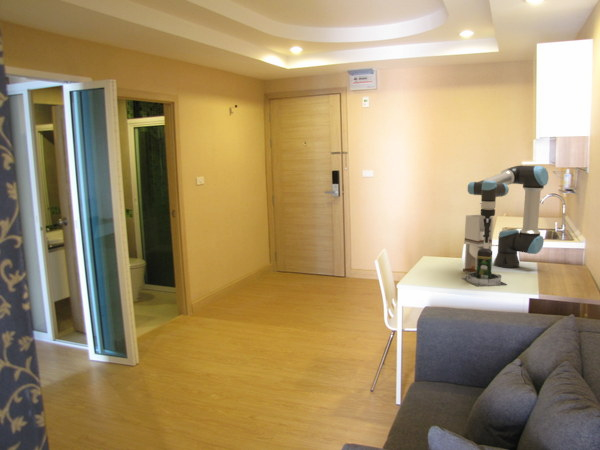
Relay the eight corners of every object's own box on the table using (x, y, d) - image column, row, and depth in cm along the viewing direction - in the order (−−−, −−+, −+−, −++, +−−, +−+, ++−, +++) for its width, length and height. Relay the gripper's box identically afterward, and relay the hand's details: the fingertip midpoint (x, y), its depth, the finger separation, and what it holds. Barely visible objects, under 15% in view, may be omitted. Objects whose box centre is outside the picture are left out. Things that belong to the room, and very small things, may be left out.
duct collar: (491, 276, 296) (492, 271, 296) (509, 285, 279) (509, 278, 278) (459, 278, 293) (459, 272, 292) (474, 286, 275) (475, 280, 275)
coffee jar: (476, 278, 291) (478, 246, 288) (491, 279, 288) (493, 247, 285) (474, 282, 283) (476, 249, 280) (489, 283, 279) (492, 251, 276)
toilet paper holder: (462, 271, 308) (465, 215, 303) (476, 270, 312) (479, 214, 307) (476, 276, 298) (479, 217, 293) (489, 274, 302) (493, 216, 297)
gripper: (481, 205, 292) (479, 241, 296) (480, 211, 269) (478, 250, 273) (494, 206, 290) (493, 242, 293) (495, 211, 267) (493, 250, 270)
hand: (486, 246), depth 283 cm, fingers open, 13 cm apart
